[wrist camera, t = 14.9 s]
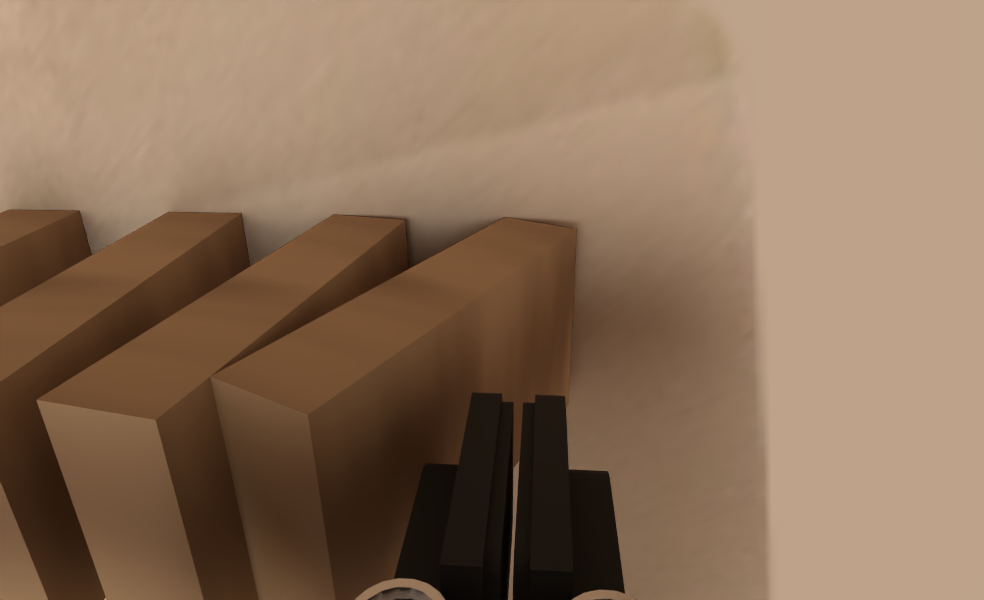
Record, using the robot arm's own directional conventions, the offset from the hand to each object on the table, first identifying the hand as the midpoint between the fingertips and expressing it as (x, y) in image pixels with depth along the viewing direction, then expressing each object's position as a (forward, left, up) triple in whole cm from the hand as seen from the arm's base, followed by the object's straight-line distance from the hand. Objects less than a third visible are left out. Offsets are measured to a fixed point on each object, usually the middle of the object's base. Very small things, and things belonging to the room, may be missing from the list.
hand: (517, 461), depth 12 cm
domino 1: (0, 0, -6) cm, 6 cm away
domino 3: (0, +9, -7) cm, 11 cm away
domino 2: (0, +4, -6) cm, 8 cm away
